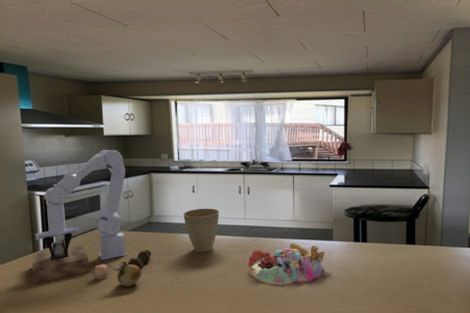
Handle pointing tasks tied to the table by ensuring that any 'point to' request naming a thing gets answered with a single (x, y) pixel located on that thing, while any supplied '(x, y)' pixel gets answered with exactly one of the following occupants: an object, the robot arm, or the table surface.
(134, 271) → the onion
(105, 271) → the pinkish tan rounded piece
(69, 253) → the hole block
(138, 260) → the dark brown lumpy piece
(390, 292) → the table surface
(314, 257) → the candy landscape model
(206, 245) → the plant pot
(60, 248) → the dark metallic cylinder
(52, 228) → the robot arm
